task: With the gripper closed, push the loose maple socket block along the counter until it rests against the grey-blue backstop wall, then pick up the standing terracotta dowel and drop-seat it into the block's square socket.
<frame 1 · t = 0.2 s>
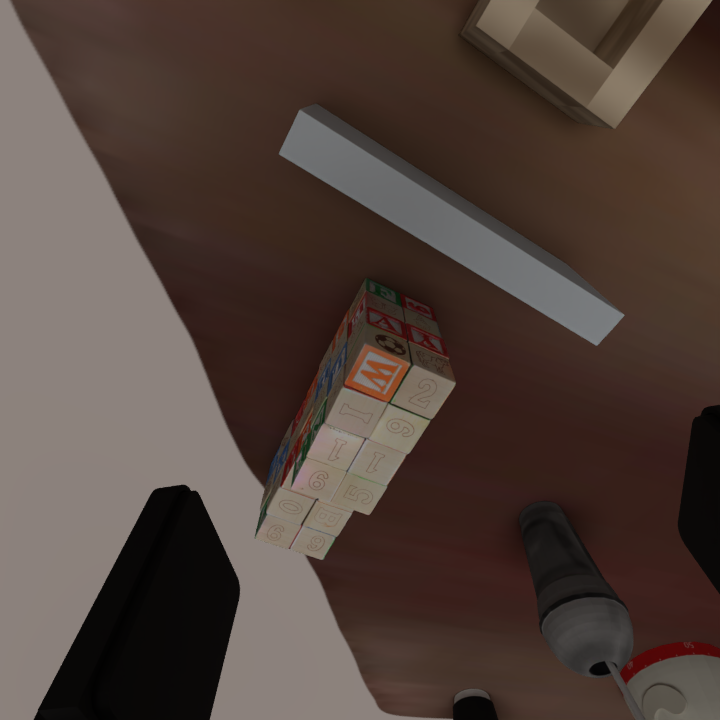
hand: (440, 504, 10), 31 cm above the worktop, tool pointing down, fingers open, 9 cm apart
backstop wall: (440, 203, 37), on the worktop
kitchen timer: (671, 672, 66), on the worktop
dixie cup: (471, 697, 68), on the worktop
stack of blocks: (344, 390, 45), on the worktop
beverage cup: (540, 515, 52), on the worktop
socket block: (570, 1, 31), on the worktop
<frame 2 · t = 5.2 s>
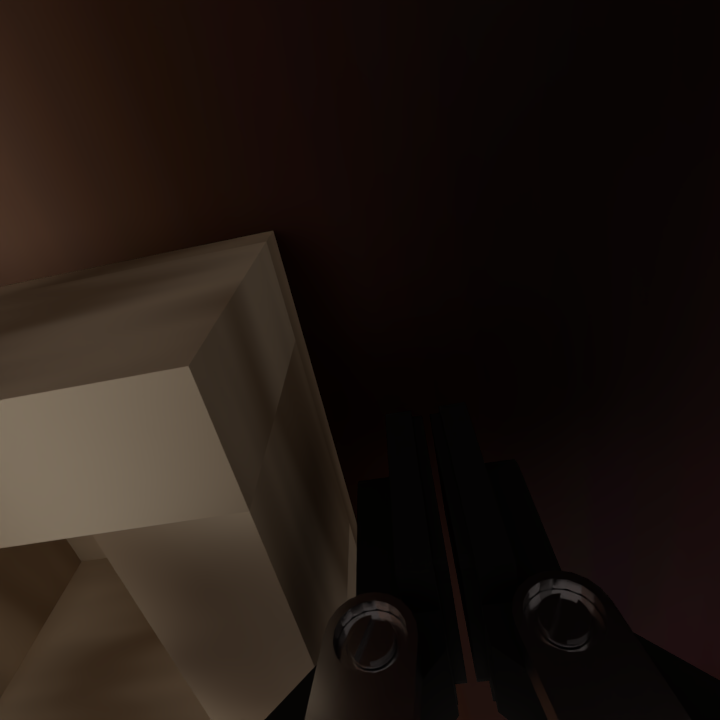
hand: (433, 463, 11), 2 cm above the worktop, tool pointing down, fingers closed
socket block: (147, 447, 14), on the worktop
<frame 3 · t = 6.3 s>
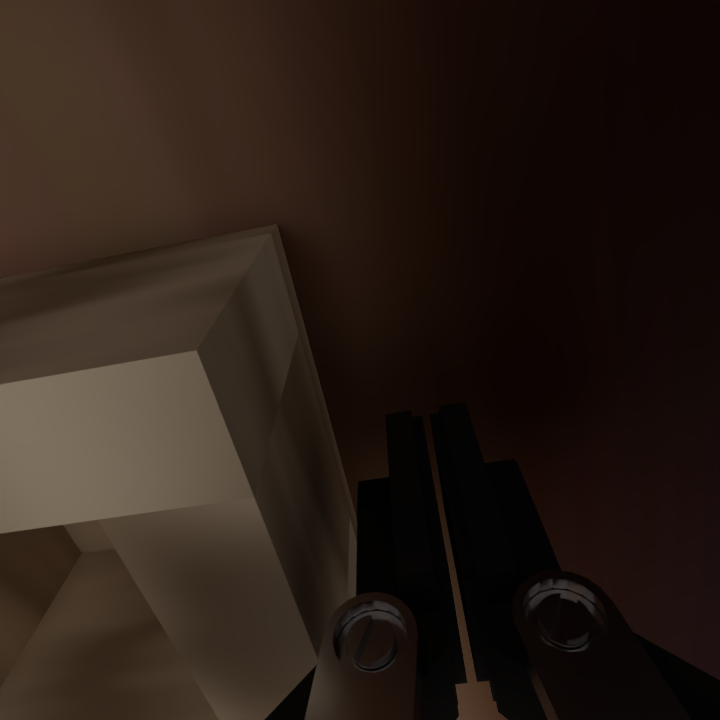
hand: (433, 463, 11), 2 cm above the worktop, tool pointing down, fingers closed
socket block: (149, 439, 14), on the worktop, touching gripper
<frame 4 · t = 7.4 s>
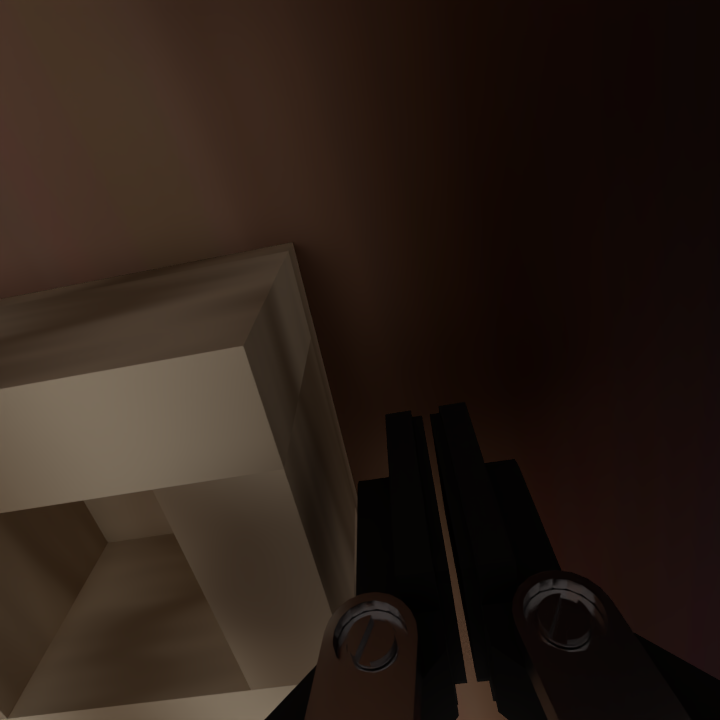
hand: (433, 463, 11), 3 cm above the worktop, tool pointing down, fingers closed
socket block: (172, 436, 15), on the worktop
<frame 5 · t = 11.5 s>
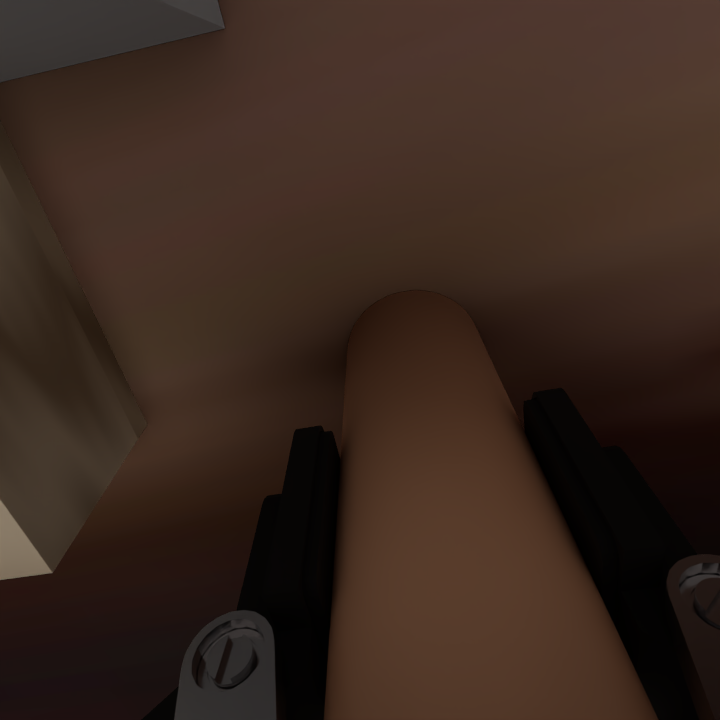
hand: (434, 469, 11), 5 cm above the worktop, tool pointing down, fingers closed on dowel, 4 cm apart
dowel: (413, 352, 15), on the worktop, touching gripper
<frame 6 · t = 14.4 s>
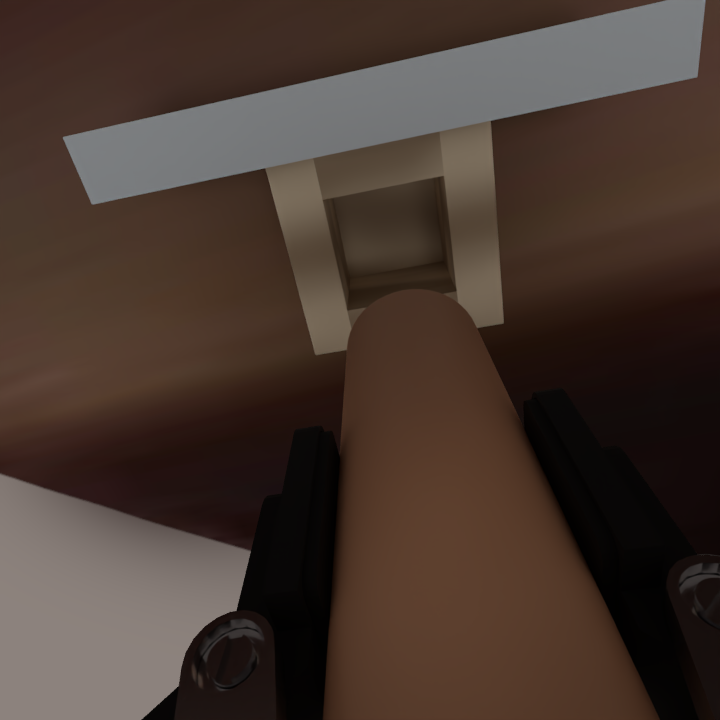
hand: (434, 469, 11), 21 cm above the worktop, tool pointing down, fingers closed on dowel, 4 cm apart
backstop wall: (368, 101, 26), on the worktop
socket block: (387, 218, 29), on the worktop
dowel: (412, 351, 15), point 16 cm above the worktop, touching gripper
when the fingers open (7 cm above the worktop, at t = 17.3 s): dowel drops 1 cm, resting on socket block.
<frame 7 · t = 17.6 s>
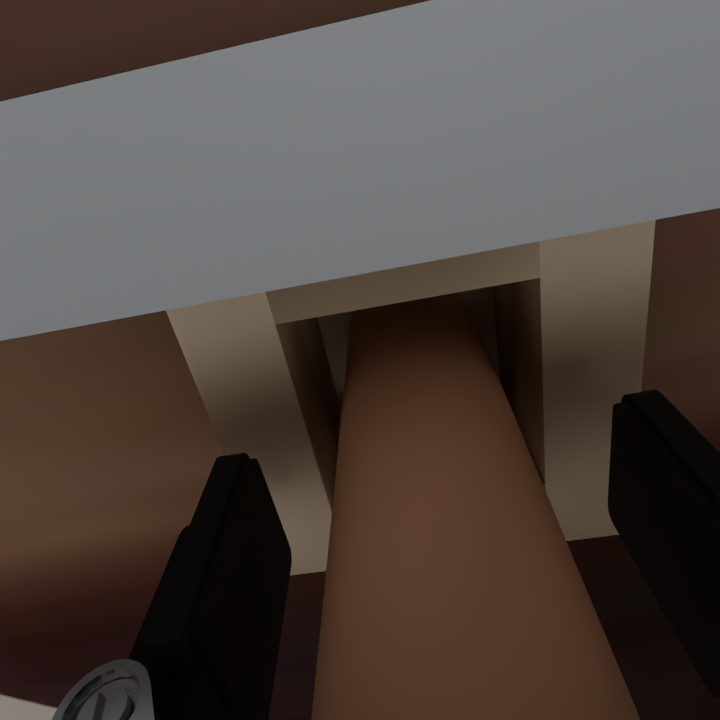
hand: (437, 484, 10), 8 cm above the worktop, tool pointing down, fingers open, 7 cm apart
backstop wall: (372, 112, 14), on the worktop
socket block: (404, 311, 17), on the worktop, touching backstop wall, dowel
dowel: (411, 333, 16), point 1 cm above the worktop, touching socket block
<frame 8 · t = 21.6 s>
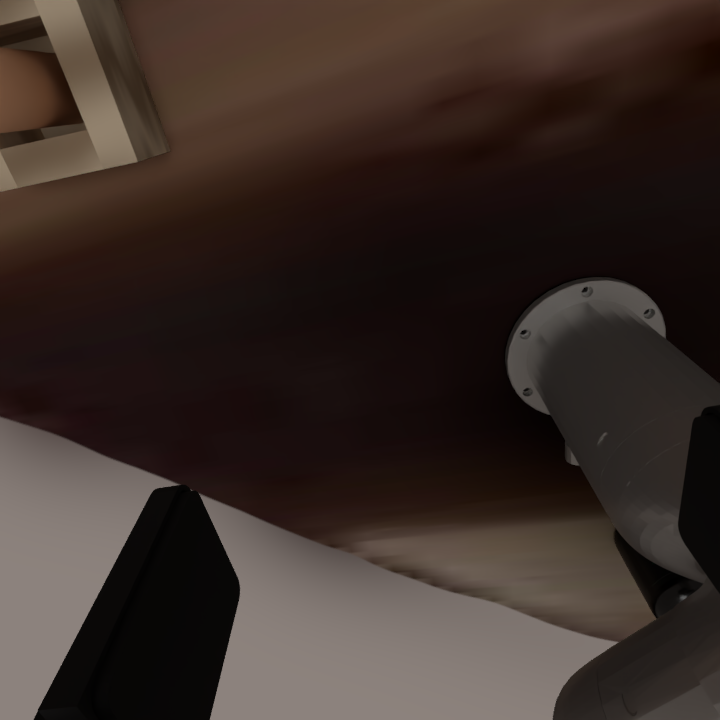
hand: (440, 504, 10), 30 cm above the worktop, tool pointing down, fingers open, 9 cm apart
supplement bottle: (645, 529, 52), on the worktop
socket block: (73, 86, 33), on the worktop, touching dowel
dowel: (67, 89, 33), point 1 cm above the worktop, touching socket block
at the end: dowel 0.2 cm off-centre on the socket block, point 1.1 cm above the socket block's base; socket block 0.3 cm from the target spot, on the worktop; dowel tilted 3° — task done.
